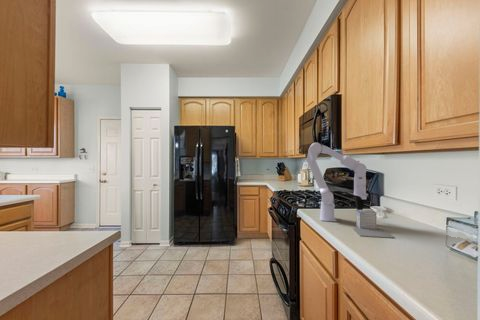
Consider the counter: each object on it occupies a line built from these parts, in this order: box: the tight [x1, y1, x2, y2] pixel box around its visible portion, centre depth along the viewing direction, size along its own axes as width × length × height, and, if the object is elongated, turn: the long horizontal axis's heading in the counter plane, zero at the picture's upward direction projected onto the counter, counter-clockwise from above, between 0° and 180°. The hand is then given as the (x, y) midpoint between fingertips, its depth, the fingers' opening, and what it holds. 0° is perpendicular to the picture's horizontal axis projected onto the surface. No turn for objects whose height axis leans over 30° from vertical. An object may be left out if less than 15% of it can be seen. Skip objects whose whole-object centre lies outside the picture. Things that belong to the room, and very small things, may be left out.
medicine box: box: [355, 209, 377, 229], centre depth 116 cm, size 8×4×9 cm, turn 84°
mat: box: [352, 227, 396, 239], centre depth 108 cm, size 11×14×1 cm
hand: (359, 210), depth 126 cm, fingers closed
